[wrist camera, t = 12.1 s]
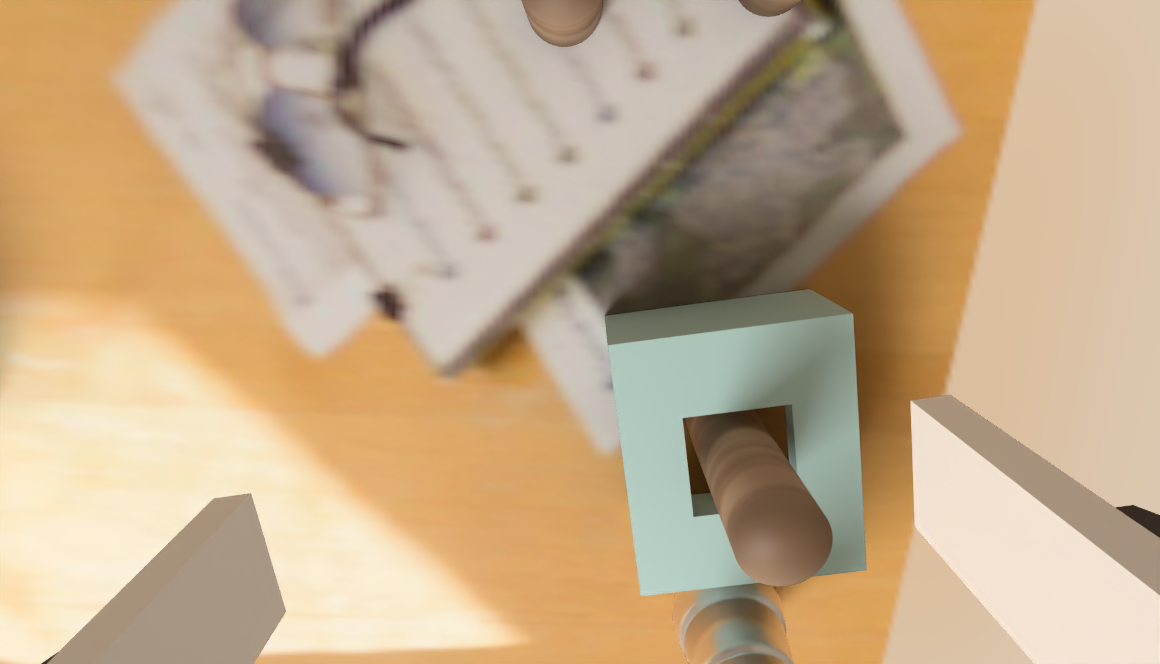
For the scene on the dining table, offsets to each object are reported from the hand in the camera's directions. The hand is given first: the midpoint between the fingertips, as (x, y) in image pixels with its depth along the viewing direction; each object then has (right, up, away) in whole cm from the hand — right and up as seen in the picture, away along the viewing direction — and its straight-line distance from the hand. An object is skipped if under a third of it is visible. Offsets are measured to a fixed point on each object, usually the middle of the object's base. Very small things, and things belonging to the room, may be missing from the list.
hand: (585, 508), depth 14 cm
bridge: (+8, -2, +29) cm, 30 cm away
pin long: (+8, -2, +29) cm, 30 cm away
